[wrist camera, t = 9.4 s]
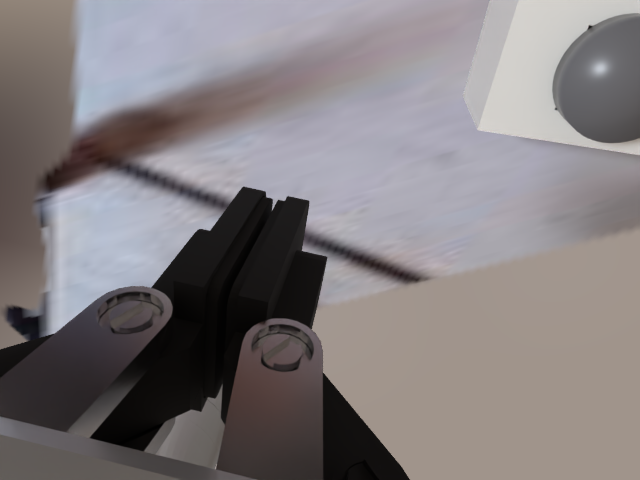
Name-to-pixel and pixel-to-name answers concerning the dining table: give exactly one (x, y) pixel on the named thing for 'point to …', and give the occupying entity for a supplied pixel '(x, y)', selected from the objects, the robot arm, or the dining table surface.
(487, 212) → the dining table surface
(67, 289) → the dining table surface
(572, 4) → the control box
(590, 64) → the knob
